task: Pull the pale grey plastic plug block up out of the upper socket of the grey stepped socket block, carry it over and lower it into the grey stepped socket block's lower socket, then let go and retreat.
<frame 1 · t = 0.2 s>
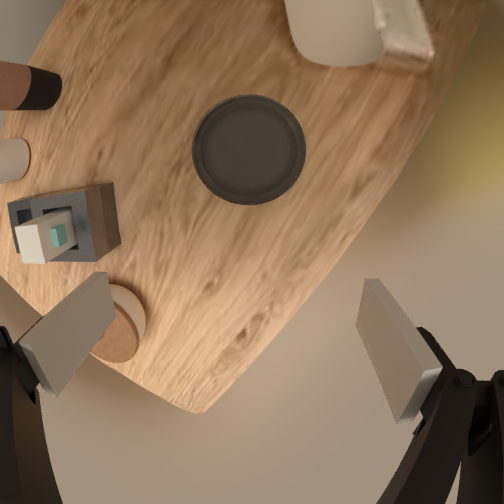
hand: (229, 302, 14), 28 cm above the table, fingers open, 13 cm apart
lidded bowl: (124, 304, 47), on the table
travel mug: (49, 91, 34), on the table
grey stepped socket block: (63, 218, 42), on the table
coffee can: (254, 150, 37), on the table
beverage can: (20, 158, 38), on the table
plug: (74, 222, 38), point 4 cm above the table, touching grey stepped socket block
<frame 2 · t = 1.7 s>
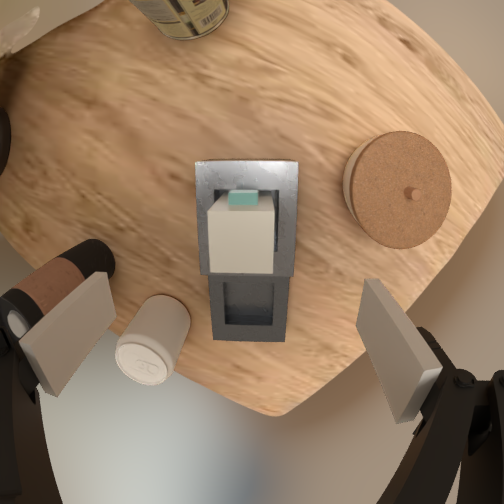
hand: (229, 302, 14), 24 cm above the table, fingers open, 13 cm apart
lidded bowl: (375, 181, 34), on the table
travel mug: (97, 259, 40), on the table
grey stepped socket block: (250, 250, 38), on the table
coffee can: (191, 11, 27), on the table
beverage can: (167, 314, 42), on the table
plug: (248, 212, 32), point 4 cm above the table, touching grey stepped socket block
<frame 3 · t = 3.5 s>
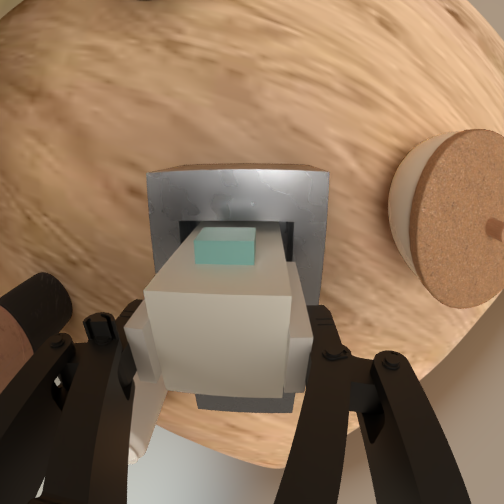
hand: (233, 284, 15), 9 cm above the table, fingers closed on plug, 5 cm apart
lidded bowl: (425, 198, 22), on the table
travel mug: (52, 297, 28), on the table
grey stepped socket block: (245, 297, 26), on the table
beverage can: (140, 368, 31), on the table
plug: (241, 251, 20), point 4 cm above the table, touching gripper, grey stepped socket block
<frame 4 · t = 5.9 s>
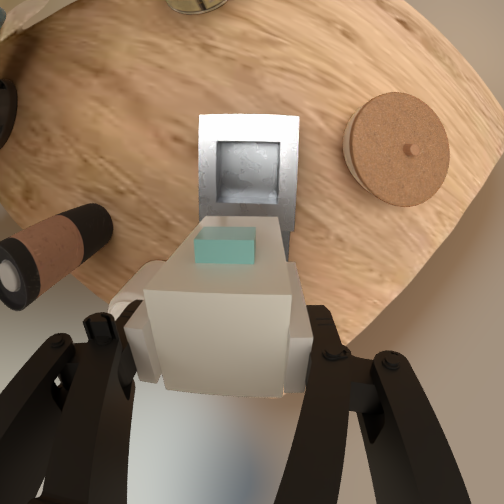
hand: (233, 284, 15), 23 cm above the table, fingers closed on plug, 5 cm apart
lidded bowl: (375, 148, 34), on the table
travel mug: (95, 225, 39), on the table
grey stepped socket block: (249, 213, 37), on the table
beverage can: (163, 282, 42), on the table
plug: (241, 250, 20), point 18 cm above the table, touching gripper
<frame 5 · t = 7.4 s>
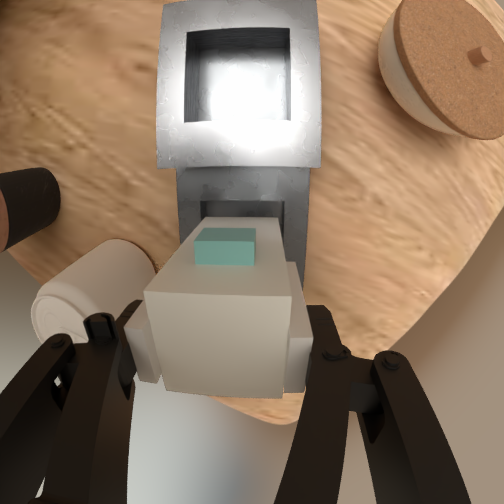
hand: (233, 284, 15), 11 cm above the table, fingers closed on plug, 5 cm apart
lidded bowl: (415, 77, 20), on the table
travel mug: (41, 196, 26), on the table
grey stepped socket block: (245, 161, 24), on the table
beverage can: (125, 272, 28), on the table
plug: (241, 251, 20), point 6 cm above the table, touching gripper
when the fingers open (8 cm above the table, at t = 8.4 s): plug stays where it is, resting on grey stepped socket block.
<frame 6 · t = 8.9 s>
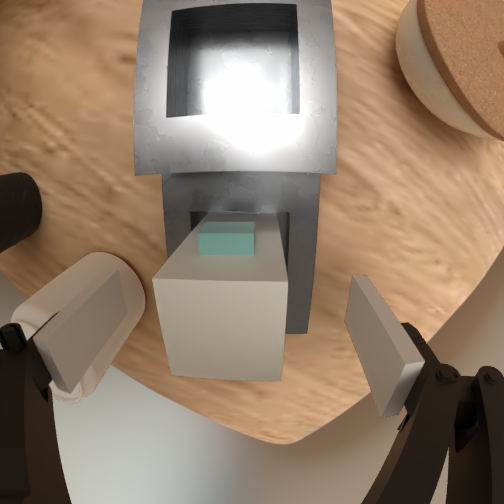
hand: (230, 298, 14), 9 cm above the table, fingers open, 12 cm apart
lidded bowl: (434, 72, 17), on the table
travel mug: (23, 204, 22), on the table
grey stepped socket block: (243, 164, 21), on the table
beverage can: (111, 287, 25), on the table
plug: (242, 246, 21), point 1 cm above the table, touching grey stepped socket block
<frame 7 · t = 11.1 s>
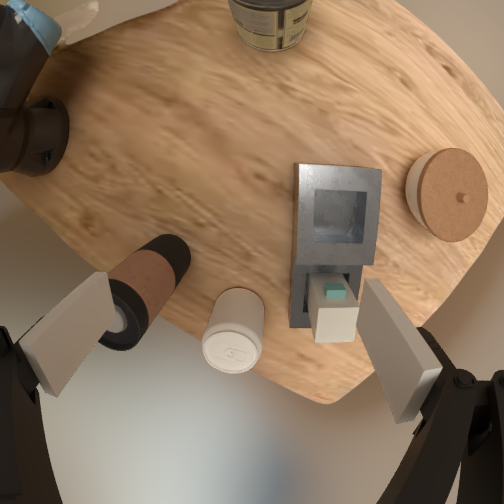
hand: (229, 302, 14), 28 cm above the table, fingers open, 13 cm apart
lidded bowl: (426, 187, 38), on the table
travel mug: (170, 254, 44), on the table
grey stepped socket block: (325, 245, 42), on the table
coffee can: (270, 25, 31), on the table
beverage can: (240, 307, 46), on the table
plug: (323, 286, 42), point 1 cm above the table, touching grey stepped socket block
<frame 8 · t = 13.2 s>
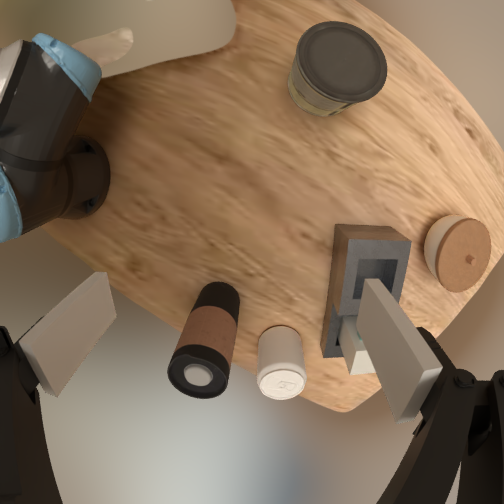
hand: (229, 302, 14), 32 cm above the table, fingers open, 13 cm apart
lidded bowl: (439, 239, 44), on the table
travel mug: (219, 298, 50), on the table
grey stepped socket block: (354, 290, 48), on the table
coffee can: (320, 86, 37), on the table
beverage can: (279, 340, 53), on the table
plug: (351, 323, 49), point 1 cm above the table, touching grey stepped socket block
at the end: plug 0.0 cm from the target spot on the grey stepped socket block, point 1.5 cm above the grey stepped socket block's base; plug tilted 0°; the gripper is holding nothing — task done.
